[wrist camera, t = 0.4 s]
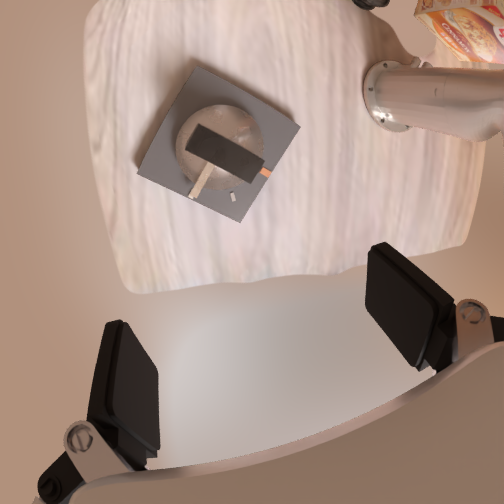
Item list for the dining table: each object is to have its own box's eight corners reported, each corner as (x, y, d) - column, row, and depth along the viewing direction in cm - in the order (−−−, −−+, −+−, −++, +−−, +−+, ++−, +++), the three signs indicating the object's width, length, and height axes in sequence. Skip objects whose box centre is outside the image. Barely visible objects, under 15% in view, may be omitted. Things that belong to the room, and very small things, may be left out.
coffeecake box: (412, 16, 29) (496, 5, 12) (418, -6, 26) (496, -19, 9) (459, 62, 34) (536, 71, 17) (464, 40, 31) (536, 44, 14)
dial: (203, 90, 30) (206, 84, 24) (276, 131, 35) (295, 137, 28) (156, 174, 34) (148, 190, 28) (228, 209, 39) (236, 231, 32)
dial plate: (196, 67, 30) (197, 65, 28) (295, 125, 37) (301, 126, 35) (139, 170, 35) (136, 174, 33) (237, 218, 42) (240, 223, 40)
